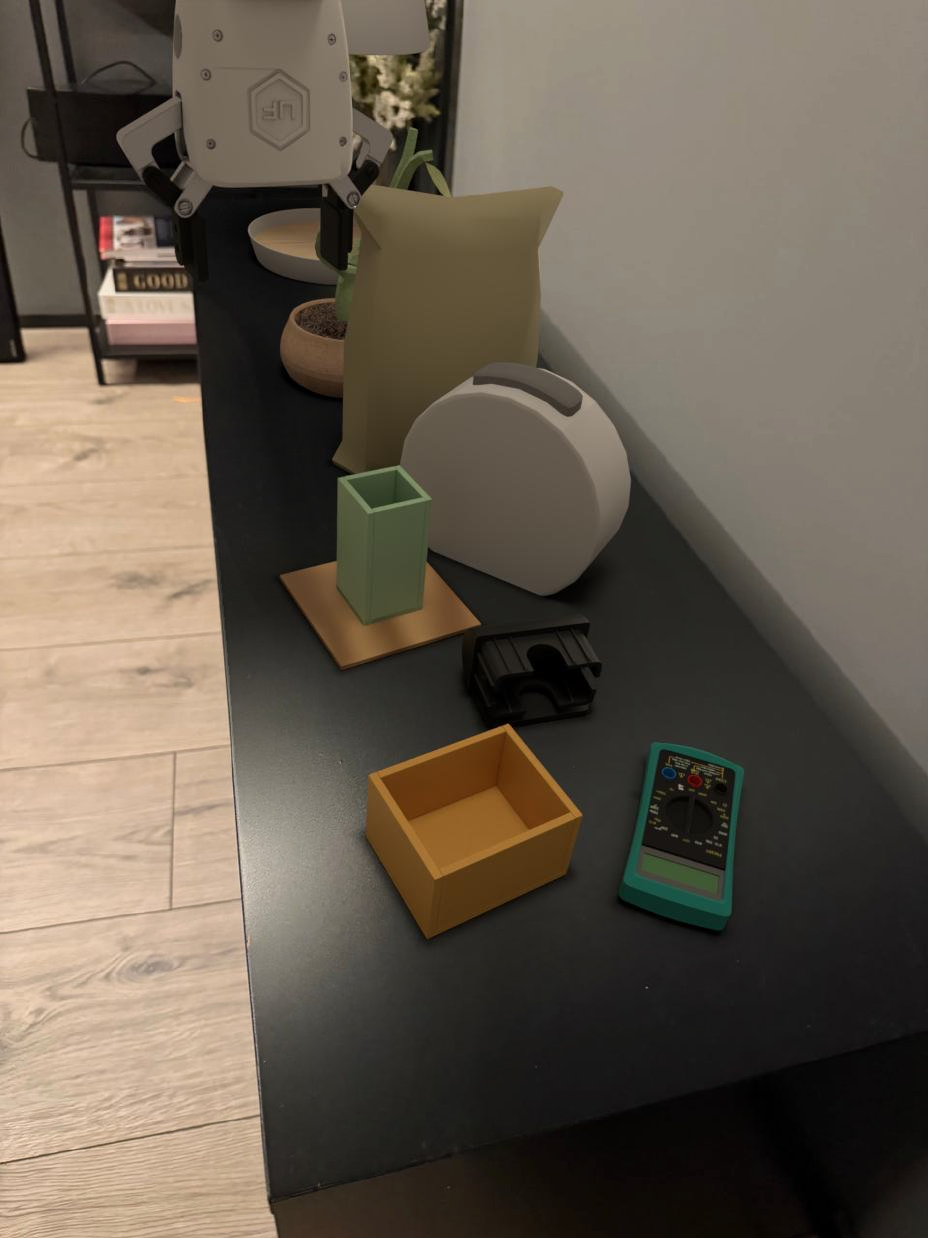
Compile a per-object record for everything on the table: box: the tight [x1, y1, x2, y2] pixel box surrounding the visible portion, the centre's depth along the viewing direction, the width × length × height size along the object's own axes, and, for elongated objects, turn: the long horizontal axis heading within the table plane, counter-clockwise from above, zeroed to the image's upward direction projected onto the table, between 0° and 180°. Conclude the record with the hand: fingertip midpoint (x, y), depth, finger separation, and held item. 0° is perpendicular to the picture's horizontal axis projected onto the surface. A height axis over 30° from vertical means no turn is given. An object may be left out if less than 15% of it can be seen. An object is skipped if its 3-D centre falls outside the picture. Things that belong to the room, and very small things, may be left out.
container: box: [331, 184, 564, 475], centre depth 99 cm, size 24×17×30 cm
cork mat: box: [279, 560, 482, 671], centre depth 86 cm, size 14×14×1 cm
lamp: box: [247, 0, 431, 286], centre depth 143 cm, size 29×29×43 cm
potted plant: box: [279, 127, 452, 399], centre depth 114 cm, size 22×18×30 cm
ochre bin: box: [365, 724, 583, 940], centre depth 63 cm, size 11×9×7 cm
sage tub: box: [336, 465, 432, 626], centre depth 82 cm, size 6×6×12 cm
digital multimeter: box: [618, 741, 745, 931], centre depth 67 cm, size 7×15×3 cm, turn 163°
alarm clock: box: [400, 362, 632, 597], centre depth 88 cm, size 21×8×20 cm, turn 61°
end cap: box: [461, 614, 603, 730], centre depth 77 cm, size 10×7×7 cm
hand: (267, 269), depth 62 cm, fingers open, 9 cm apart
